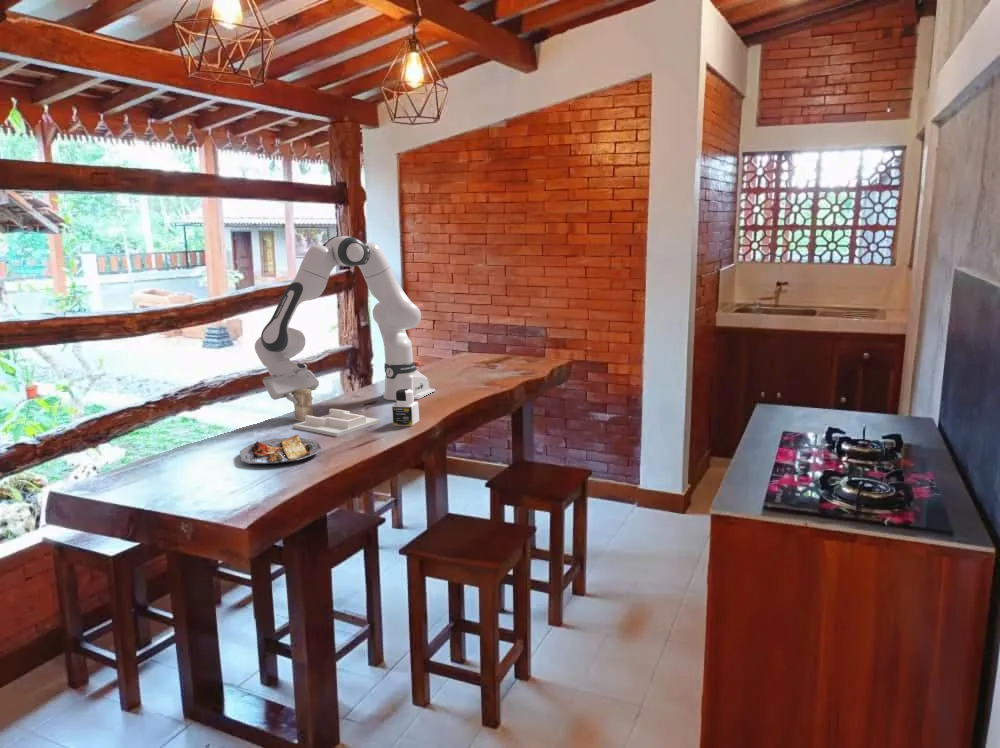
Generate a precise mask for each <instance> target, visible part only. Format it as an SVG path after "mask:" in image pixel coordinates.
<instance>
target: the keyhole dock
mask: <svg viewBox="0 0 1000 748" xmlns="http://www.w3.org/2000/svg"><path fill="white" fill-rule="evenodd" d="M380 421H381V420H380V419H379V418H374V417H373V418H372V417H367V416H366V415H361V414H356V413H351V411H349V410H344V409H337V408H329V413H328V414H326V415H322V416H314V415H313V416H309V415H307V416H305V421H304V422H303V421H300V422H298V423H297V422H296V423H294V424H293V425H292V426H293V429H297V430H301V431H307V432H311V433H318V434H322V435H326V436H327V435H328V436H330V437H331V436H332V437H337V438H338V437H341V436H343V435H346V434H350V433H352V432H356V431H359V430H361V429H366V428H368V427H370V426H374V425H376V424H377V425H378V424H380V423H381V422H380Z"/></svg>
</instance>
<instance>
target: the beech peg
mask: <svg viewBox="0 0 1000 748" xmlns="http://www.w3.org/2000/svg"><path fill="white" fill-rule="evenodd" d="M292 396H293V397H295V398H298V399H299V401H300V403H299V404H297V405H294V404H293V408H294V418H295V421H297V420H298V422H304V421H305V416H307V415H309V416H314V408H313V399H312V398H313V396H312V391H311V389H305V388H303V389H299V390H295V391H294V392H293V395H292Z"/></svg>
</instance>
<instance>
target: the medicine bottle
mask: <svg viewBox="0 0 1000 748" xmlns="http://www.w3.org/2000/svg"><path fill="white" fill-rule="evenodd" d="M395 401H396V403H395V404H393V405H392V407H391V408H392V424H393V427H394V426H397V427H398V426H399V427H414V426H415V425H416V424H417V423H418V422H420V411H419V410H420V409H419V401H415V399H414V395H413V391H412V390H410V389H401V390H398V391H397V392H396V400H395Z"/></svg>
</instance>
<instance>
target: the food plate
mask: <svg viewBox="0 0 1000 748" xmlns="http://www.w3.org/2000/svg"><path fill="white" fill-rule="evenodd" d="M321 450H322V449H321V445H320V443H319V442H318V441H317V440H315V439H311V438H303V437H300V436H299V435H298V434H295V435H293V436H290V437H288V438H287V437H285V438H272V439H268V440H267V439H266V440H263V441H255V443H251V444H249V445H248V446H246V447H244V448H242V449H241V450H239V453H240V454H239V455H240V461H241V462H242V463H245V464H249V465H250V464H253V465H254V464H258V465H259V464H261V465H278V464H285V462H286V463H291V462H297V461H302V460H305V459H306V458H308V457H312V456H314V455H316V454H317V453H319V452H320V451H321ZM280 454H281V455H282V456H284V455H285V456H284V458H282V456H281V455H280ZM285 458H287V459H288V460H284V459H285ZM258 460H260V461H258ZM283 460H284V461H283ZM266 461H267V462H266Z"/></svg>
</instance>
